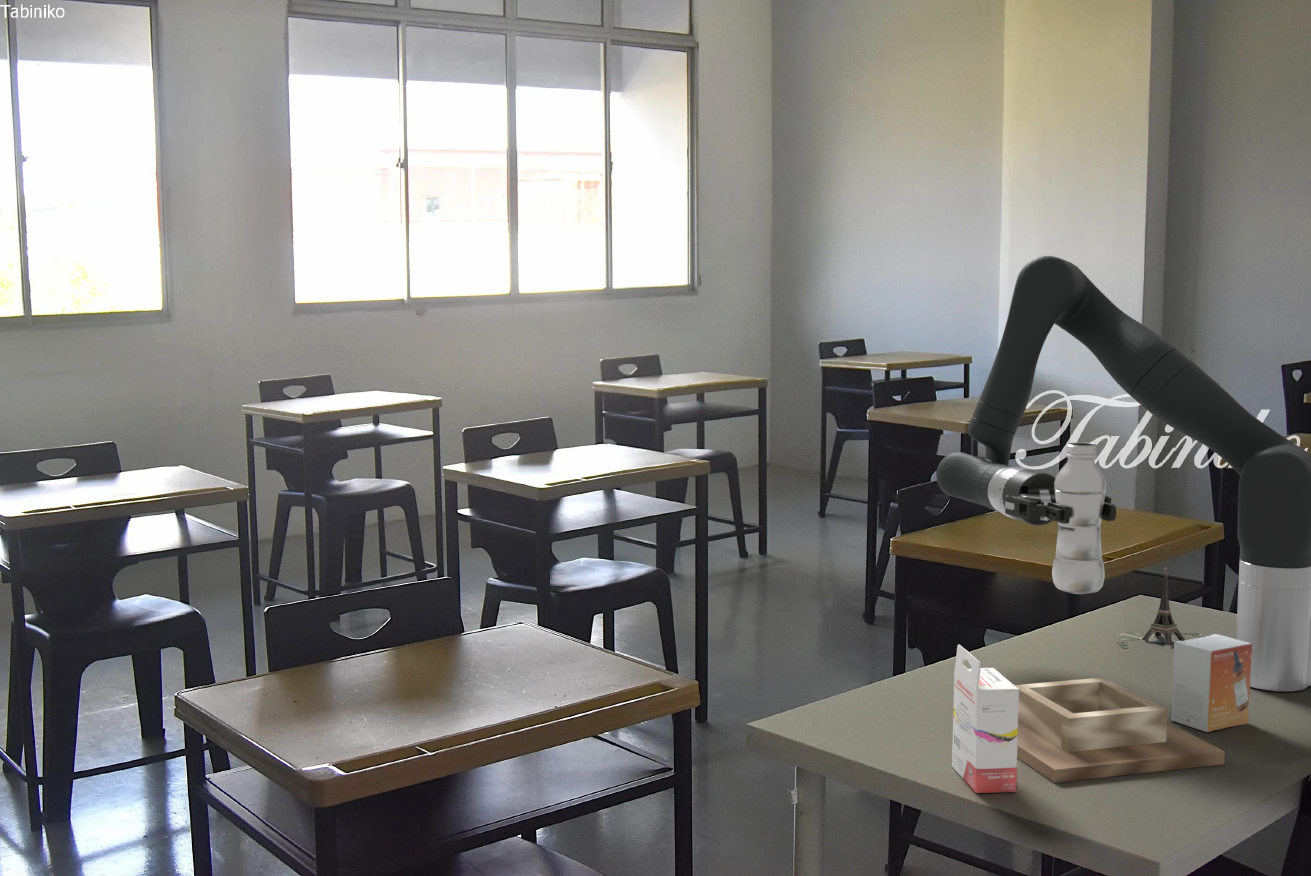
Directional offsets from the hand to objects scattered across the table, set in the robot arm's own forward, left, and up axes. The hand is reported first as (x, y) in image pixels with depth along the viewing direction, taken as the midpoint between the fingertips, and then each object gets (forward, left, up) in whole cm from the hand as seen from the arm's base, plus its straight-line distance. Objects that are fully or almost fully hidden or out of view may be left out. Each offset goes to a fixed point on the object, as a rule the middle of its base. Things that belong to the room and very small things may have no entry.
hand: (1090, 514), depth 164 cm
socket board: (+7, +12, -26) cm, 29 cm away
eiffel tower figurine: (-30, -25, -26) cm, 47 cm away
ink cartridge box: (+25, +20, -26) cm, 41 cm away
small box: (-12, +10, -26) cm, 30 cm away
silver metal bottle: (0, -3, -11) cm, 11 cm away
